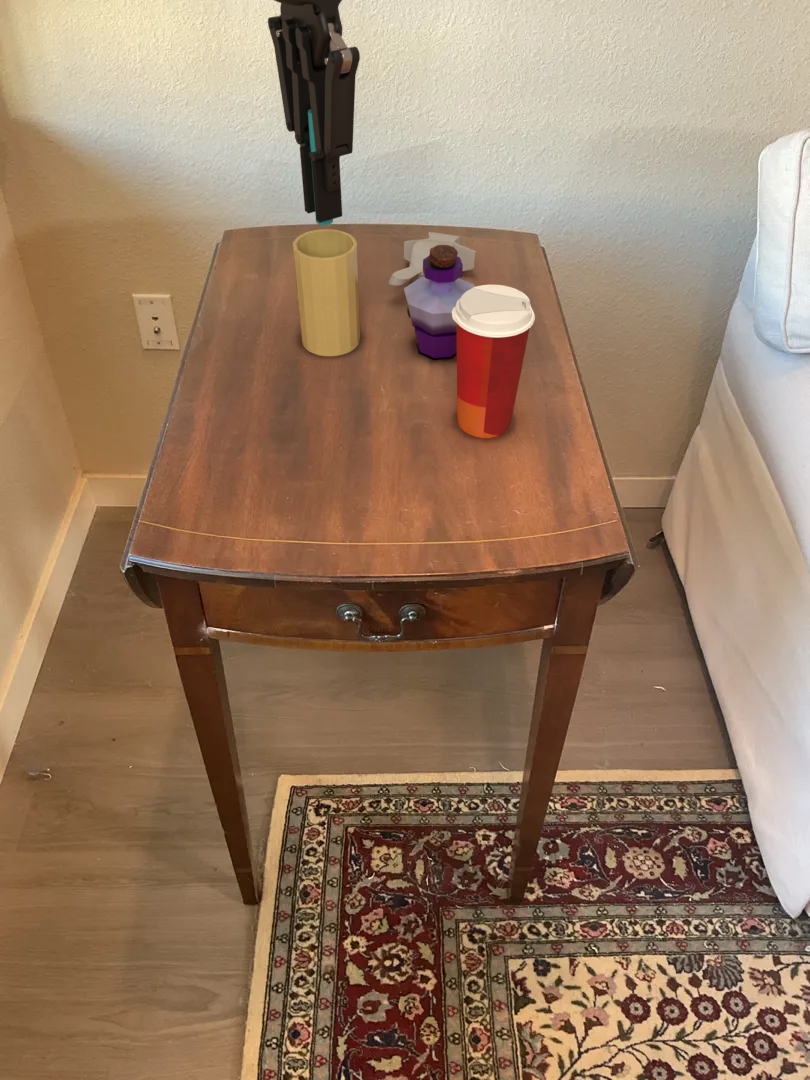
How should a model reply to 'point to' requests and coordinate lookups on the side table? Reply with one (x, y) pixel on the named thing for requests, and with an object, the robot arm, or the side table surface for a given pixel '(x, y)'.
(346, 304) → the can
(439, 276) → the potion bottle
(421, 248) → the bunny figurine
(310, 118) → the teal cylinder rod
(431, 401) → the side table surface
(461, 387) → the paper cup
